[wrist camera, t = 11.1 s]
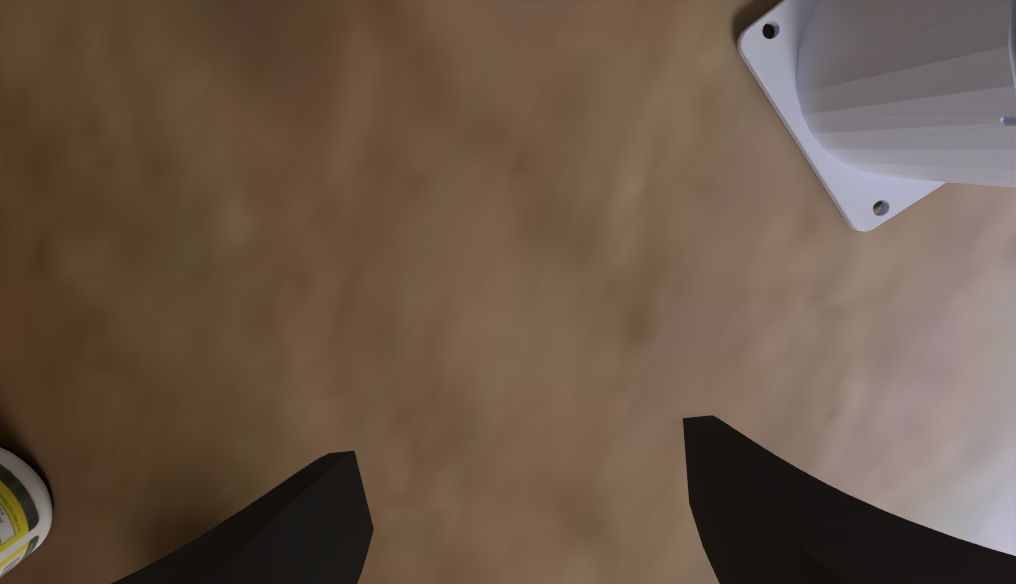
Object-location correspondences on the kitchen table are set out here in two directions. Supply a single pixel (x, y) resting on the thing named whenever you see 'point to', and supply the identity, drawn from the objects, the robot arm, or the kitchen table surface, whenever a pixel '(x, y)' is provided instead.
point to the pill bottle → (21, 510)
